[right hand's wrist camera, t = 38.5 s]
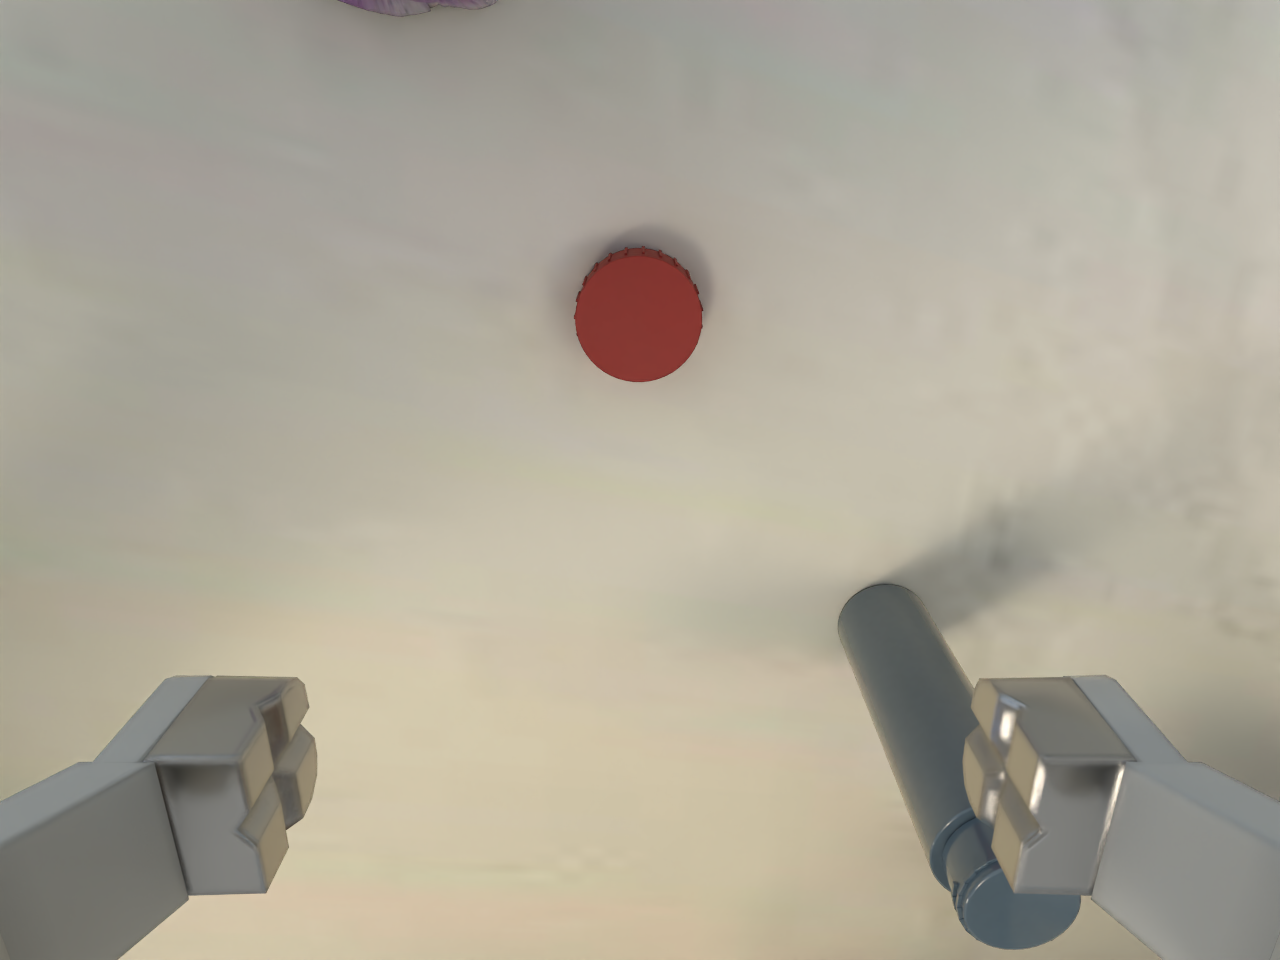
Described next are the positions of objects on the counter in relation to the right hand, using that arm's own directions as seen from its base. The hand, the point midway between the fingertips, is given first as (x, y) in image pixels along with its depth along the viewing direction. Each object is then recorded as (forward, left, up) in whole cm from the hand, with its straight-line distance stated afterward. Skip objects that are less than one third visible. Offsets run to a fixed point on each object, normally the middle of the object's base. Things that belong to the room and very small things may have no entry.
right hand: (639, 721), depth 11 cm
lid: (0, 0, -25) cm, 25 cm away
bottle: (-10, -16, -27) cm, 33 cm away
